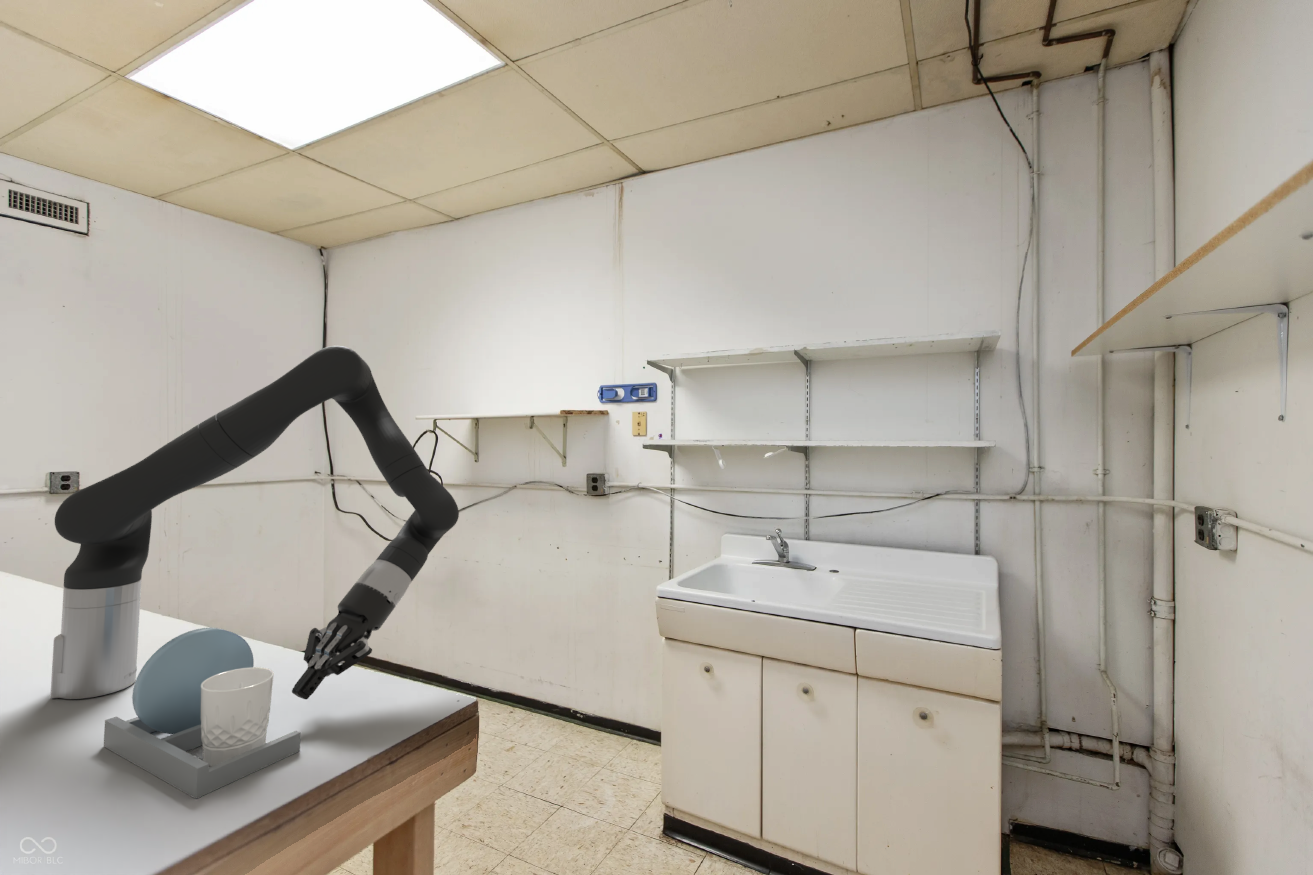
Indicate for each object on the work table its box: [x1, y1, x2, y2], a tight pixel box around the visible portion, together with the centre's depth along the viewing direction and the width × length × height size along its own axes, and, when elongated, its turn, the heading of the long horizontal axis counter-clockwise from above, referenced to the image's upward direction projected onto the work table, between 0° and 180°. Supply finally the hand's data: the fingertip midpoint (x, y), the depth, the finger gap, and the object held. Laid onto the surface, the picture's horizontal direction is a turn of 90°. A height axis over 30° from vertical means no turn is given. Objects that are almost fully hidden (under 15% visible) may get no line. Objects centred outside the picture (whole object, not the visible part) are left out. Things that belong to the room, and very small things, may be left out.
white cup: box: [201, 666, 275, 767], centre depth 76 cm, size 8×8×10 cm
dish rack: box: [103, 627, 302, 799], centre depth 78 cm, size 15×23×14 cm, turn 64°
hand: (298, 695), depth 83 cm, fingers closed
